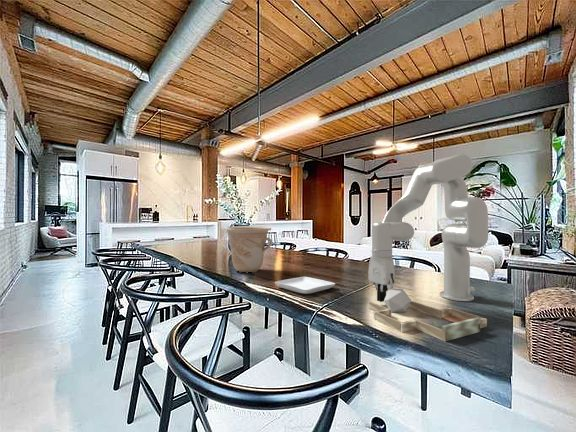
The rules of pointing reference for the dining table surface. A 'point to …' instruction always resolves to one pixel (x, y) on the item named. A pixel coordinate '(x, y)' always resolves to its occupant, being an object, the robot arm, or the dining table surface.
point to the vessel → (248, 246)
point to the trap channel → (459, 328)
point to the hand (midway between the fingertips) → (381, 300)
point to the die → (397, 300)
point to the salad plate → (305, 285)
